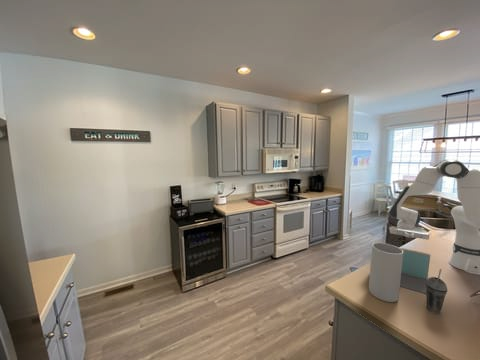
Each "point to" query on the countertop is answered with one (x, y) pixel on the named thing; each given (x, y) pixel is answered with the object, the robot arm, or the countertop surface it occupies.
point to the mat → (413, 283)
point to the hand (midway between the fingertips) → (410, 236)
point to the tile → (415, 263)
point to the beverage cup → (435, 293)
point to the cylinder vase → (385, 271)
